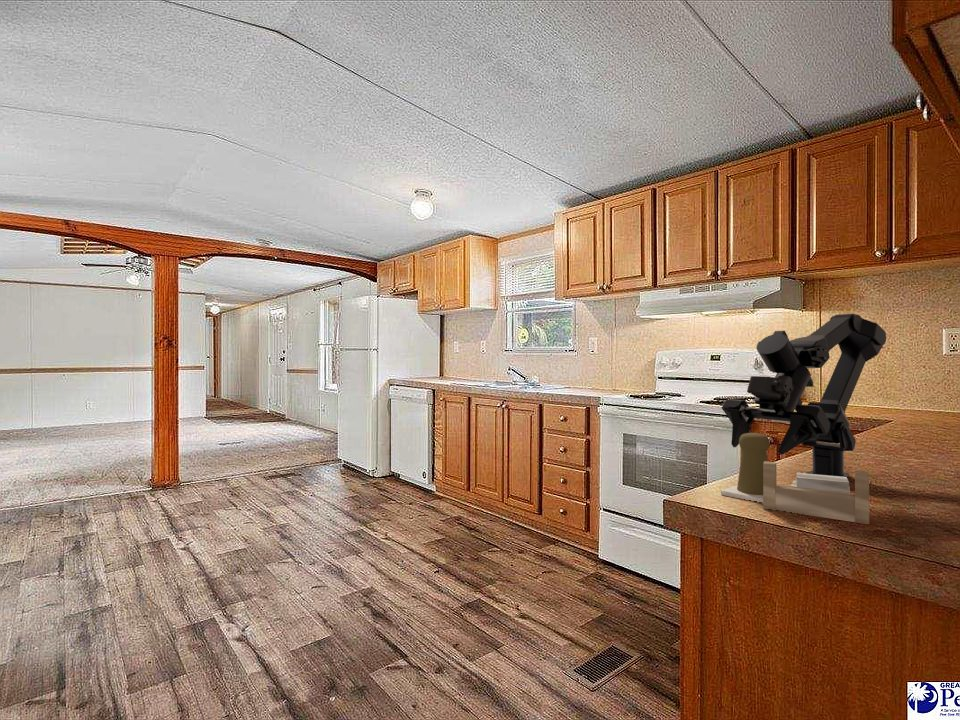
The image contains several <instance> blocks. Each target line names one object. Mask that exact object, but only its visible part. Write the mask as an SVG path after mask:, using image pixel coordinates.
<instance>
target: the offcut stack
mask: <svg viewBox="0 0 960 720" xmlns="http://www.w3.org/2000/svg"><path fill="white" fill-rule="evenodd" d="M795 476H796V477H795V479H796V480H793V481H792V482H791V484H790V486H789V487H793V488H802V489H810V490H818V491H826V492H834V493H843V494H850V493H851V492H850V491H851V489H850V488H851V487H850V481H849V479H848V477H839V476H828V475H817V474H806V472H805V473H804V472H796V475H795Z"/></svg>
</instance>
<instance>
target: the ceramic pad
mask: <svg viewBox="0 0 960 720" xmlns="http://www.w3.org/2000/svg"><path fill="white" fill-rule="evenodd" d="M737 486H738V484H735V485H732V486H730V487H727V488H723V489H722V490H720V495H721V496H725V497H731V498H736V499H739V498H740V500H744V499H745V501H749V500H751V501H750V502H754V501H757V502H756V503H759V502H762V503H761V504H763V495H753V494H747V493H743V492H740V491H738V490H737Z"/></svg>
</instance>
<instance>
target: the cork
mask: <svg viewBox="0 0 960 720" xmlns="http://www.w3.org/2000/svg"><path fill="white" fill-rule="evenodd" d="M738 446H739V447H740V448H741V450H742V452H741V458H740V463H739V464H740V465H739V473H738V481H737V485H738V486H737V490H738V491H740V492H743V493H747V494H753V495H763V463H764V462H765V461H767V462H769V459H768V454H767V453H768V452H767V451H768V450H769V448H770V446H771V442H770V439H769V437H768V436H767V435H766V434H763V433H758V432H748V433H745V434H742V435H741V437H740V439H739V445H738Z"/></svg>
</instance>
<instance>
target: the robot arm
mask: <svg viewBox="0 0 960 720" xmlns="http://www.w3.org/2000/svg"><path fill="white" fill-rule="evenodd" d="M886 341H887V333H886V330H884V329H883V327H881V326H880V325H879V324H878V323H876V322H874V321H871V320H868V319H866V318H865V319H864V318H863V317H861V316H860V315H859V314H856V313H844V314H843V313H842V314H835V315H832V316H831V317H830V319H829V320H828V321H826V323H824V324H822V325H821V326H820V327H819V328H818V329H816V330H815V331H813V332H812V333H811V334H809V335H807V336H802V337H798V338H794V339H792V340H790V338H789V337H788V334H787V332H786V330H774V332H773V333H772V334H769V335H768V336H766V337H764V338H762V339H761V340H760V341H758V343H757V344H756V350H757V352H758V354H759V356H760V358H761V359H762V361H763V362H764V364H765V366H766V368H767V369H768V370H769V372H771V373H774V374H775V373H776V375H775V376H774V377H772V376H762V375H760V376H759V375H756V376H755V375H751V376H750V378H749V380H748V381H749V383H748V385H747V390H746V392H747V394H751V395H753V396H754V397H755V398H754V402H755V404H756V405H759V407H757V406H756V407H753V406H750V405H749V404H748V403H747V401H746V400H745V399H733V398H732V399H730V398H729V399H726V400H725V401H724V402H723V404H722V406H721V410H722V411H723V413H724V414H725V415H726V417H727V418H728V420H729V422H730V423H731V425H732V432H731V446H732V447H733V448H737V447H738V446H740V445H739V439H740V437H741V435H742V434H745V433H750V430H751V429H752V427H751V426H752V425H753V424H754V421H755V419H760V420H761V419H762V420H768V421H771V422H780V423H789V426H788V428H787V430H786V432H785V434H784V436H783V438H782V441H781V442H780V445H779V447H778V451H777V452H778V453H779V455H781V456H782V455H785V454H786V453H787V452H789V451H791V450H792V449H794V448H796V447H797V446H799V445H800V444H801V446H803V447H812V450H811V451H812V457H811V458H812V465H811V466H812V470H810V471H807V472H805V474H817V475H828V476H839V477H847V478H848V477H849V476H851V473H850V472H845V461H844V460H845V458H844V457H845V455H844V453H845V452H854V450H855V447H856V440H857V439H856V438H855V436H854V434H853V432H852V431H851V429H850V422H849V419H848V417H847V415H846V411H847V408H848V405H849V403H850V401H851V398H852V395H853V393H854V391H855V388H856V386H857V383H858V381H859V379H860V376H861V374H862V372H863V369H864V367H865V364H866V363H867V362H869V361H870V360H871V359H873V358H875V357H876V356H878V354H880V352H881V350H882V349H883V347H884V345H885V344H886ZM836 346H838V347H839V350H840V352H841V353H840V355H839V358H838V361H837V362H836V365H835V367H834V369H833V372H832V374H831V376H830V378H829V381H828V382H827V385H826V388H825V389H824V392H823V395H822V397H821V399H820V401H819V402H815V401H813V402H811V401H809V402H808V403H807V404H803V401H802V399H801V398H802V395H803V394H804V392H805V389H806V387H807V388H808V387H809V388H812V387H814V380H813V378H812V374H811V372H810V371H809V369H820V368H823V367H824V366H825V365H826V363H827V362H828V361H829V360H830V358H831V357H830V351H831V350H832V349H833V348H835V347H836Z"/></svg>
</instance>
